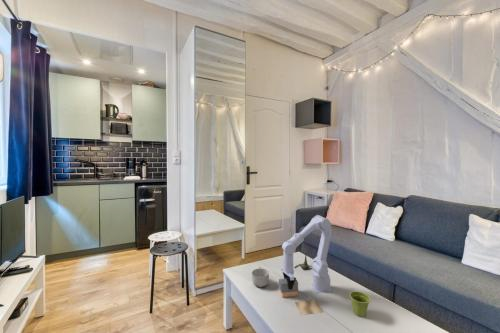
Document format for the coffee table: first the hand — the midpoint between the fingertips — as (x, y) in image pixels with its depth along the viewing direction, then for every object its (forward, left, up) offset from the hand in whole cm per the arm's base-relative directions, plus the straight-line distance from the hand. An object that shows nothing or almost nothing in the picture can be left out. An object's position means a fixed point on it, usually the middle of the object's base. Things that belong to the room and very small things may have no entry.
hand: (288, 285), depth 132 cm
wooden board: (-7, +13, -5) cm, 16 cm away
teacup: (+14, -14, -5) cm, 21 cm away
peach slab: (0, 0, -5) cm, 5 cm away
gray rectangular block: (0, 0, -2) cm, 2 cm away
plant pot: (-31, +21, -5) cm, 38 cm away
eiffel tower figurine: (-21, -27, -6) cm, 35 cm away
